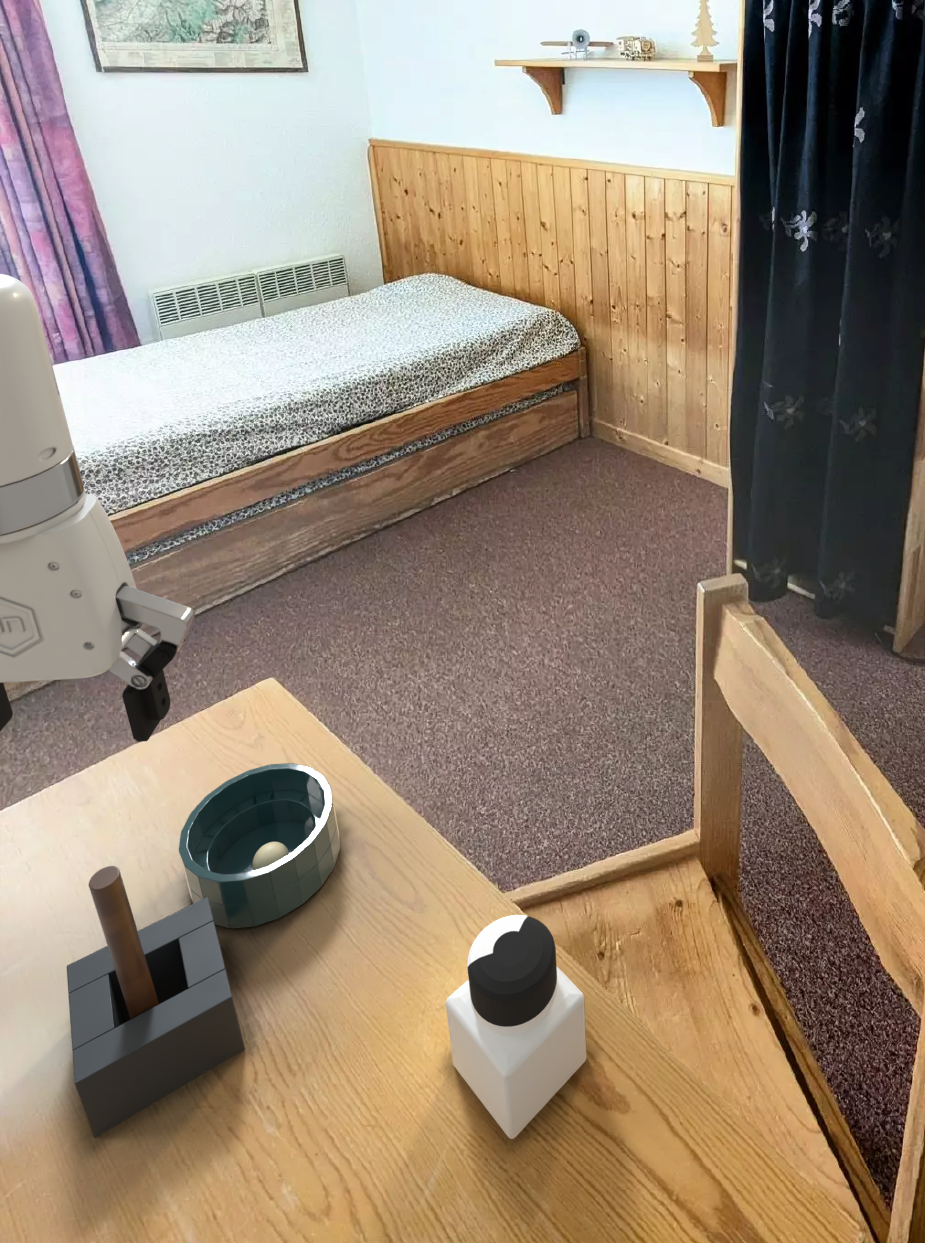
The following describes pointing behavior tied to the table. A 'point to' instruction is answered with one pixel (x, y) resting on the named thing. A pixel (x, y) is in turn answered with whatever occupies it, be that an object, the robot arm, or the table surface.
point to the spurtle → (123, 940)
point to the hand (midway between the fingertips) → (73, 729)
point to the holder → (151, 1019)
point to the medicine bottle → (516, 1021)
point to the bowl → (260, 843)
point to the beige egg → (269, 854)
